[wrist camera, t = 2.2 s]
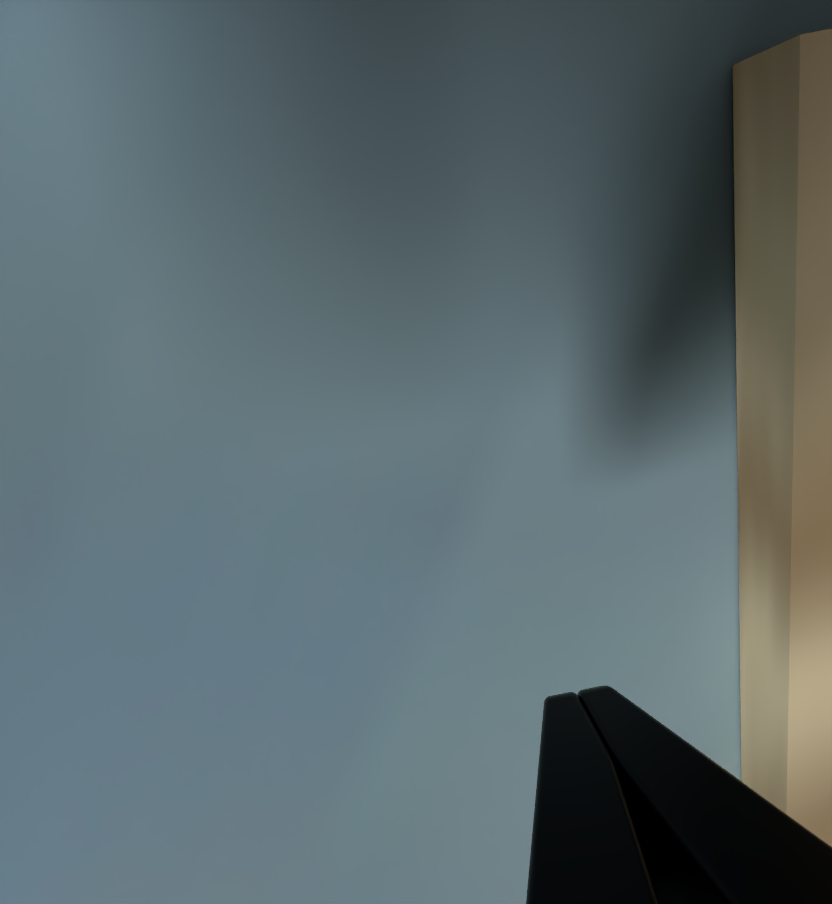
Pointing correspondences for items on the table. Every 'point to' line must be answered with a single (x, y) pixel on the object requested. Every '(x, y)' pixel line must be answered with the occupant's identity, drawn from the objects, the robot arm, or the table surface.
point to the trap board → (785, 422)
